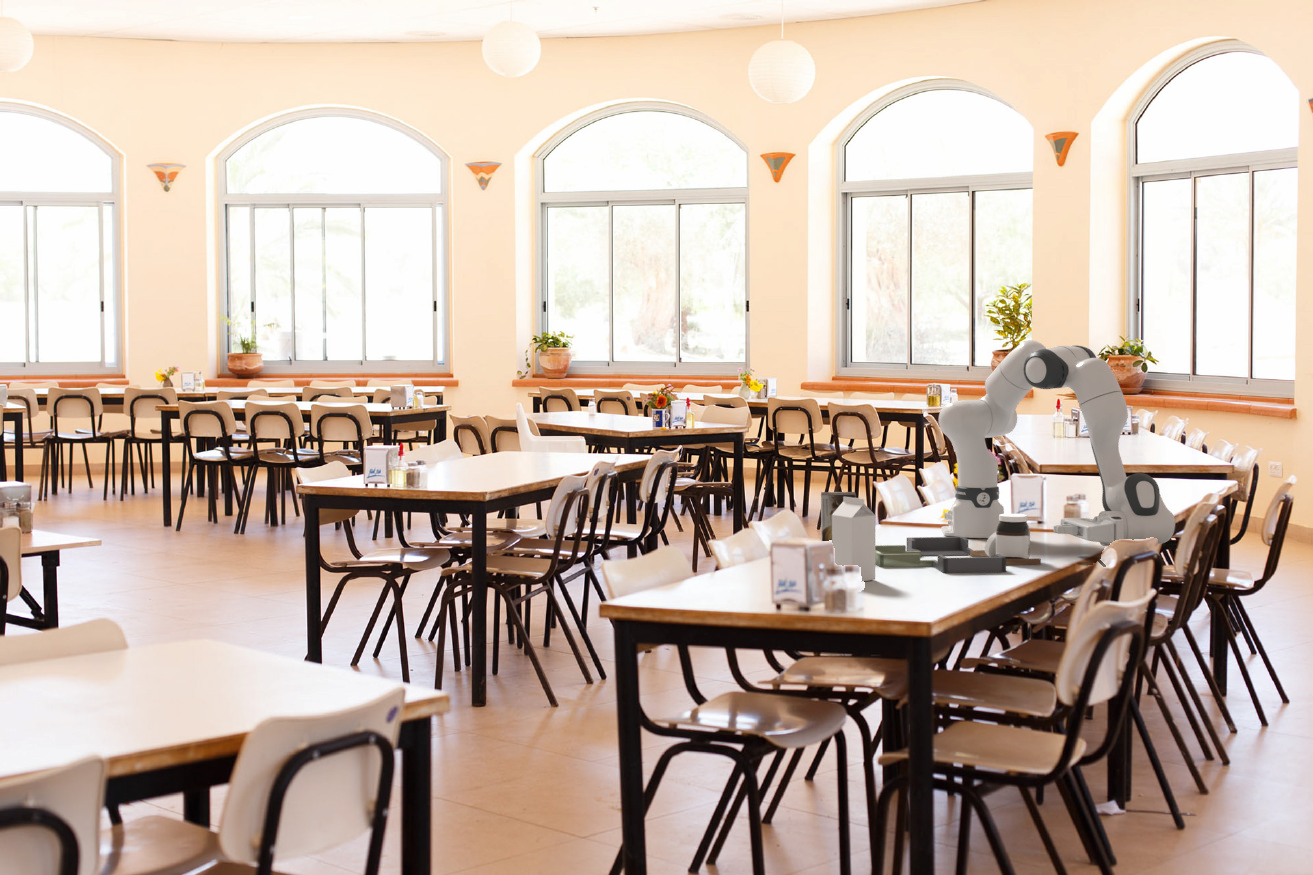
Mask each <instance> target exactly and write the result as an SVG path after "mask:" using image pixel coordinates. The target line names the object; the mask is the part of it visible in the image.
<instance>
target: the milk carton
mask: <svg viewBox="0 0 1313 875" xmlns="http://www.w3.org/2000/svg"><path fill="white" fill-rule="evenodd" d="M832 543H833V546H834V548H835V563H836V564H837V565H842V566H844V565H858V566H859V567H861V576H862V581H861V582H868V581H874V580H876V564H875V546H876V514H874V512H873V511H872V510H871V509H870V508H869V507H868V506H867V505H866V504H865V499H864V498H860V497H856V498H852V497H843V502H842V503H841V505H840V506H839V507H838V508H837V509H836V510H835V512H834V513H833V514H832Z"/></svg>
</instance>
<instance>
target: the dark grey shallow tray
mask: <svg viewBox="0 0 1313 875" xmlns="http://www.w3.org/2000/svg"><path fill="white" fill-rule="evenodd" d="M934 560H935V561H932V566H931V567H932V568H935V569H936V570H938V571H939V572H941V573H943V574H962V573H963V574H967V573H968V574H969V573H970V574H971V573H972V574H973V573H975V574H976V573H979V574H980V573H1007V565H1006V557H1004V556H1002V555H1000V554H995V557H990V556H966V557H963V556H962V557H947V556H943V555H938V556H937V559H934Z"/></svg>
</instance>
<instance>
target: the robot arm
mask: <svg viewBox="0 0 1313 875" xmlns="http://www.w3.org/2000/svg"><path fill="white" fill-rule="evenodd" d="M984 382H985V383H984V389H985V395H984V396H982V397H980V398H978V399H964V400H956V401H952V402H950V403H947V404H945V405H943V407H942V408H941V410H940V412H939V414H938V425H939V428H940V430H941V432H942V433H943V434H944V435H945V436H946V437H947V438H948V440H949V441H950V443H951V445H952V446H953V449H954V453H955V456H956V464H957V486H956V487H955V496H954V498H955V500H954V502H953V504H952V506H951V507H950V508H949V509H948V511H945V512H944V520H945V521H948V523H947V524H948V525H945V526H944V525H943V526H941V528H940V529H941V531H942V534H943V536H944V537H964V538H966V539H968V538H970V539H988V538H989V537H990V536H991V535H992V534H993V533H995V532H996V530H997V526H998V524H999V522H1000V520H999V515H1000V514H1005V507H1004V506H1003V504H1001V503H1000V502H999V498H1000V488H999V486H998V460H997V457H996V456H995V455H994V454H993V453H991V452H990V451H989V449H988V447H987V443H986V439H987V438H988V439H989V438H999V437H1001V436H1005V435H1007V434H1010V433H1012V432H1013V431H1014V429H1015V428H1016V426H1017V422H1018V414H1017V410H1016V409H1017V408H1018V405H1019V404H1020V402H1021V401H1023V400H1024V398H1025V397H1026V396H1027V395H1028V393H1029V392H1030V391H1031V390H1032V389H1033V387H1034V388H1037V389H1040V390H1052V389H1064V388H1069V389H1070V390H1072V391H1073V392H1074V394H1075V396H1076V400H1077V404H1078V405H1079V408H1080V411H1081V414H1082V416H1083V419H1084V423H1085V425H1086V428H1087V431H1088V436H1089V439H1090V440H1089V441H1090V444H1091V449H1092V453H1093V457H1094V459H1095V463H1096V467H1097V471H1098V474H1099V477H1100V480H1101V482H1100V483H1101V487H1102V495H1101V500H1102V501H1101V503H1102V507H1103V509H1104V510H1103V511H1100V512H1099V513H1098V515H1097V516H1094V518H1087V517H1064V518H1063V517H1062V518H1061V519H1060V525H1059V524H1055V525H1053V529H1052V530H1053V533H1055V534H1058V535H1059V534H1060V535H1061V534H1062V535H1063V534H1064V535H1071V536H1073V537H1075V538H1076V537H1077V538H1079V539H1083V540H1085V541H1089V542H1095V543H1099V544H1100V545H1101V546H1103V547H1110V546H1109V545H1110V543H1112V542H1113V541H1115V540H1119V539H1132V540H1134V539H1146V538H1150V537H1154V538H1157V539H1158V544H1157V545H1160V544H1165V543H1166V542H1168V541H1170V539H1171V538H1172V537H1173V536H1174V533H1175V530H1176V520H1175V519H1176V518H1175V515H1174V514H1173V513H1172V512H1171V511H1170V510H1169V509H1168V507H1167V506H1166V504H1165V502H1164V500H1163V498H1162V496H1161V494H1160V486H1159V485H1158V482H1157V480H1155V479H1154V478H1153V477H1152V476H1150V475H1148V474H1147V473H1143V472H1136V473H1133V474H1131V475H1128V476H1127V474H1126V471H1125V467H1124V465H1123V461H1122V456H1121V454H1120V449H1119V444H1120V438H1121V435H1122V432H1123V429H1124V428H1125V426H1126V423H1127V420H1128V418H1129V412H1128V405H1127V402H1126V399H1125V398H1126V397H1125V396H1124V393H1123V390H1122V389H1121V387H1120V384H1119V382H1118V380H1117V378H1116V376H1115V373H1114V372H1113V370H1112V369H1111V367H1110V365H1109V364H1108V363H1107V361H1105V360H1104V359H1102V358H1100V357H1099V358H1098V357H1097V356H1096V354H1095V353H1094V352H1093V350H1091V349H1090V348H1088V347H1085V346H1083V345H1059V346H1054V347H1049V348H1047V347H1046V346H1045V345H1044V344H1042V343H1041V342H1039V341H1037V340H1031V339H1030V340H1025V341H1023V342H1021V343H1020V344H1018V345H1017V346H1016V347H1015V348H1013V349H1012V350H1011V351H1010V352H1009V353H1008V354H1007V355H1006V356H1005V357H1004V358H1003V359H1002V360H1001V361H1000V363H998V365H997V366H996V367H995V369H994V370H993V371H992V372H991V373H990V374H989V376H988V377H987V378H986V379H985V381H984Z"/></svg>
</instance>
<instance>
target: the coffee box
mask: <svg viewBox="0 0 1313 875" xmlns="http://www.w3.org/2000/svg"><path fill="white" fill-rule="evenodd" d="M843 497H852V498H857V494H856V492H855V491H821V492H820V518H821V519H820V522H821V523H820V527H821V528H820V532H821V538H820V539H821V541H829V540H832V514H833V513H834V512H835V510H836V509H837V508H838V507H839V506H840V505H841V503H842V502H843Z"/></svg>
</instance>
